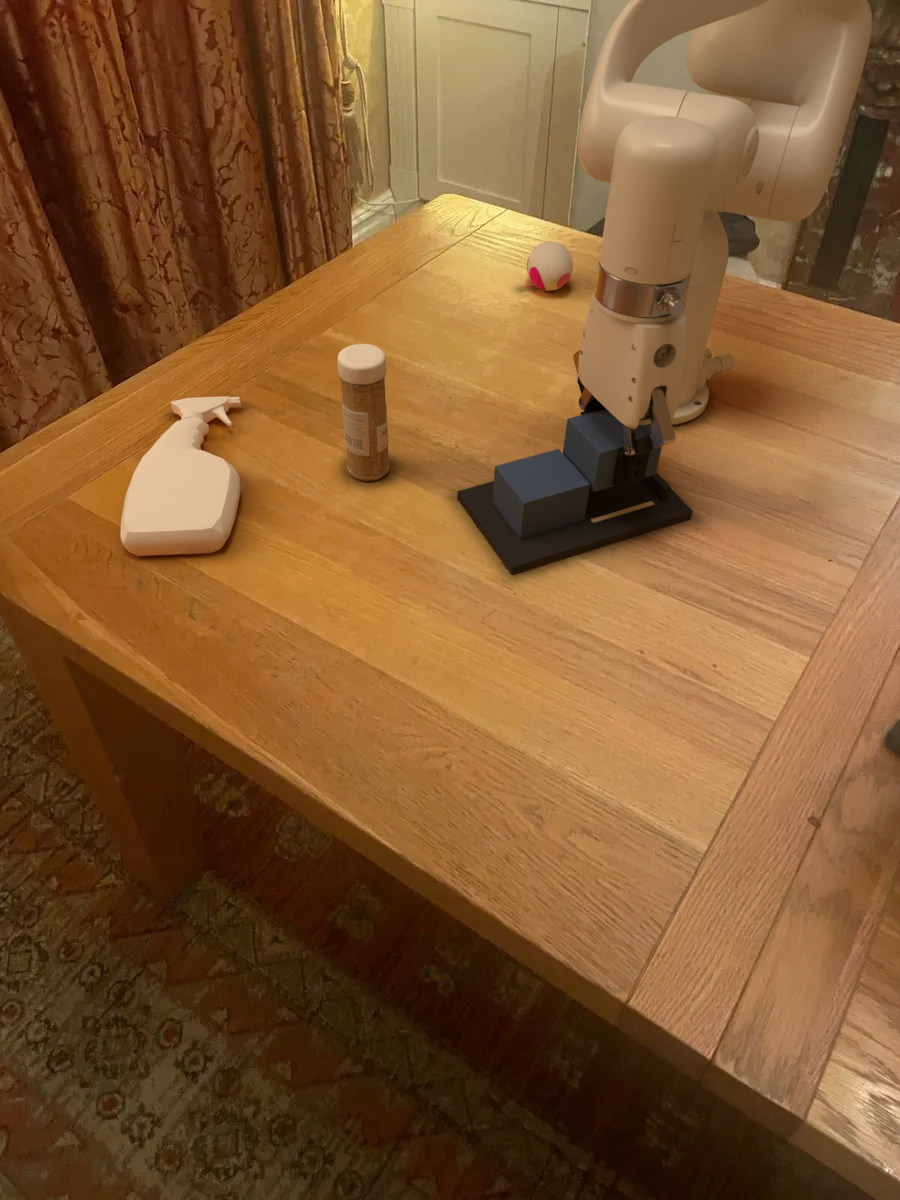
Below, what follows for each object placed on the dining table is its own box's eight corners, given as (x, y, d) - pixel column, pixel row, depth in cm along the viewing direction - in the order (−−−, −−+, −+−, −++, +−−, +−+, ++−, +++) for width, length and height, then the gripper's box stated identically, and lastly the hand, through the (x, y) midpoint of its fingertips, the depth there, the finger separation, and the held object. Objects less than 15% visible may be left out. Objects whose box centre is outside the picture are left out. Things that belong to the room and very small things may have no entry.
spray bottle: (116, 560, 84) (157, 412, 101) (235, 555, 85) (255, 409, 102) (108, 535, 82) (151, 389, 99) (230, 531, 83) (251, 386, 100)
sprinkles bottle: (398, 473, 94) (394, 358, 84) (360, 488, 92) (351, 372, 82) (376, 450, 97) (370, 336, 87) (338, 464, 95) (328, 350, 85)
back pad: (622, 441, 91) (630, 402, 88) (655, 474, 87) (664, 435, 84) (561, 457, 89) (567, 418, 86) (593, 492, 85) (600, 453, 82)
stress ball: (525, 297, 127) (501, 261, 123) (573, 262, 125) (550, 224, 121) (540, 322, 122) (515, 285, 117) (591, 285, 120) (567, 247, 115)
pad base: (626, 451, 97) (634, 408, 93) (691, 518, 90) (703, 474, 86) (457, 498, 91) (458, 454, 87) (511, 575, 84) (515, 530, 80)
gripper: (742, 325, 71) (693, 505, 83) (623, 237, 82) (596, 408, 94) (662, 343, 68) (623, 526, 81) (551, 251, 79) (532, 424, 92)
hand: (609, 461), depth 88 cm, fingers closed on back pad, 6 cm apart
